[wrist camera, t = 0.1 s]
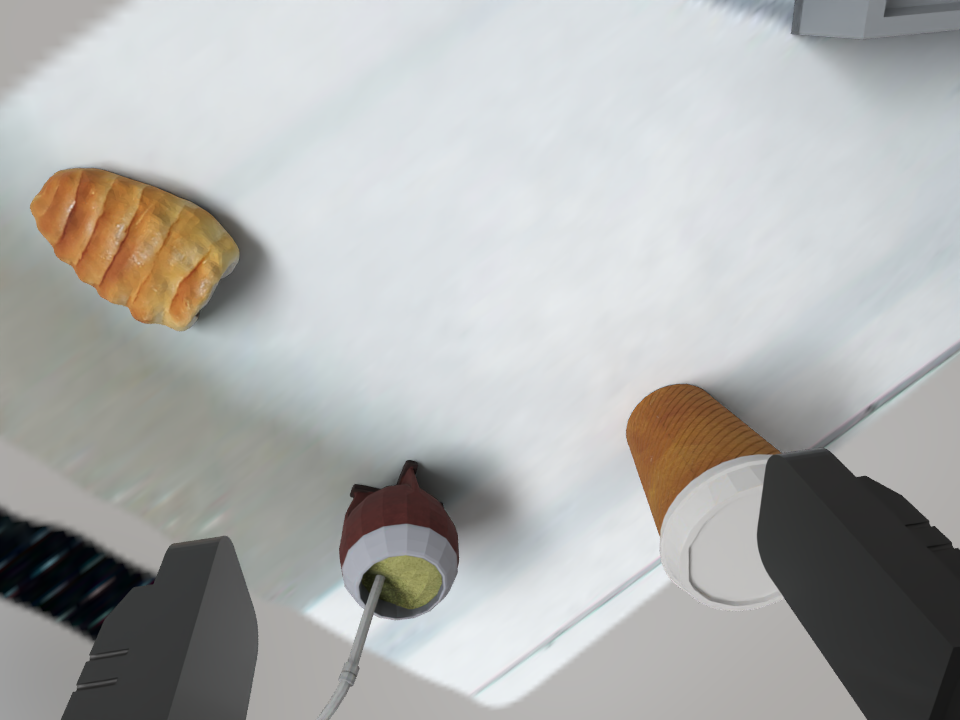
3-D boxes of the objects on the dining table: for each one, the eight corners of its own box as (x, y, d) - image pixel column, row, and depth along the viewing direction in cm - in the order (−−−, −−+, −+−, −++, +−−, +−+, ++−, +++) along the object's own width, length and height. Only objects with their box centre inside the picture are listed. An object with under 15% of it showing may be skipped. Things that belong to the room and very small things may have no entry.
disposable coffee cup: (642, 343, 43) (728, 454, 33) (766, 383, 46) (884, 498, 35) (578, 465, 47) (637, 600, 36) (697, 495, 49) (784, 630, 39)
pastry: (24, 237, 36) (-13, 261, 32) (79, 126, 34) (47, 139, 30) (196, 329, 39) (179, 359, 36) (256, 232, 37) (244, 255, 34)
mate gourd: (465, 467, 46) (501, 657, 32) (426, 556, 49) (445, 763, 35) (354, 441, 44) (343, 632, 30) (321, 536, 47) (299, 747, 33)
